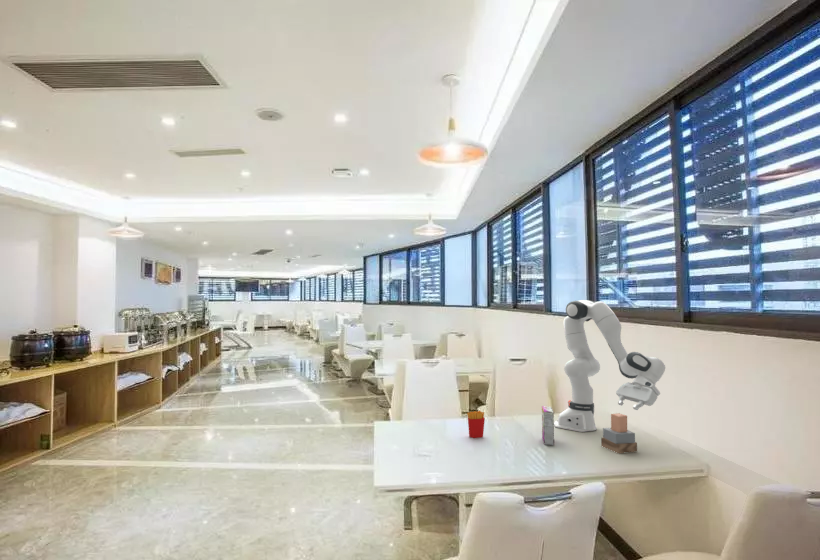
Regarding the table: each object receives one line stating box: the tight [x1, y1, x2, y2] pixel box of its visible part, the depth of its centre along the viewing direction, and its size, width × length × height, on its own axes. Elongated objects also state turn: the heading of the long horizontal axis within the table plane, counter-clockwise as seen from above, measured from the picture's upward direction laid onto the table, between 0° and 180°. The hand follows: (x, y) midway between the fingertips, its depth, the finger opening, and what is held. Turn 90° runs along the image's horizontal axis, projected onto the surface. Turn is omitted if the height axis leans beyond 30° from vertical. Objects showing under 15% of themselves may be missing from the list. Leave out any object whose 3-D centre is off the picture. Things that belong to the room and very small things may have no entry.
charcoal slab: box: [602, 427, 636, 444], centre depth 212 cm, size 10×10×4 cm
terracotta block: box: [610, 412, 628, 433], centre depth 212 cm, size 5×5×8 cm
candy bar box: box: [541, 405, 555, 446], centre depth 221 cm, size 11×5×16 cm, turn 168°
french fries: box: [466, 410, 485, 439], centre depth 228 cm, size 9×4×13 cm, turn 104°
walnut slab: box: [600, 436, 638, 454], centre depth 212 cm, size 11×11×4 cm
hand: (627, 406), depth 215 cm, fingers open, 8 cm apart
